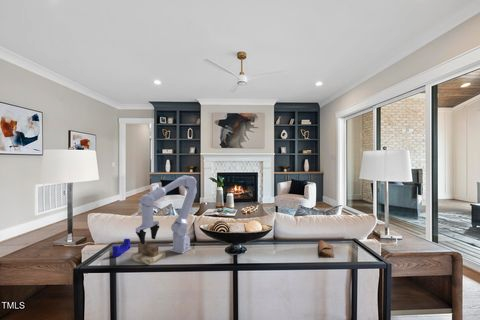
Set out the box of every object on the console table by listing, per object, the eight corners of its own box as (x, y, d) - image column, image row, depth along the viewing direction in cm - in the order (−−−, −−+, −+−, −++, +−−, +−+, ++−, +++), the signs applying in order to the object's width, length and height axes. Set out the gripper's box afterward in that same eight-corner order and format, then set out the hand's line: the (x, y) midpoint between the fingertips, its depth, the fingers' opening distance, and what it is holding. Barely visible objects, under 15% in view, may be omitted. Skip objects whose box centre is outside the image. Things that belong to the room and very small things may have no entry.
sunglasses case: (335, 258, 131) (328, 247, 132) (323, 263, 133) (317, 252, 134) (332, 245, 148) (326, 235, 149) (322, 250, 150) (316, 240, 151)
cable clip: (123, 248, 146) (123, 238, 146) (130, 248, 146) (130, 238, 146) (110, 257, 134) (109, 246, 134) (117, 257, 134) (117, 246, 134)
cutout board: (165, 256, 134) (165, 252, 134) (150, 265, 125) (150, 260, 124) (147, 251, 141) (147, 247, 140) (131, 259, 131) (131, 255, 131)
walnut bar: (158, 254, 131) (158, 245, 131) (154, 256, 129) (154, 247, 128) (142, 250, 136) (142, 241, 136) (138, 252, 134) (137, 243, 134)
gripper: (152, 212, 140) (152, 235, 140) (131, 219, 127) (131, 244, 127) (161, 214, 137) (162, 237, 137) (140, 221, 124) (141, 247, 124)
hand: (148, 241), depth 132 cm, fingers open, 7 cm apart
